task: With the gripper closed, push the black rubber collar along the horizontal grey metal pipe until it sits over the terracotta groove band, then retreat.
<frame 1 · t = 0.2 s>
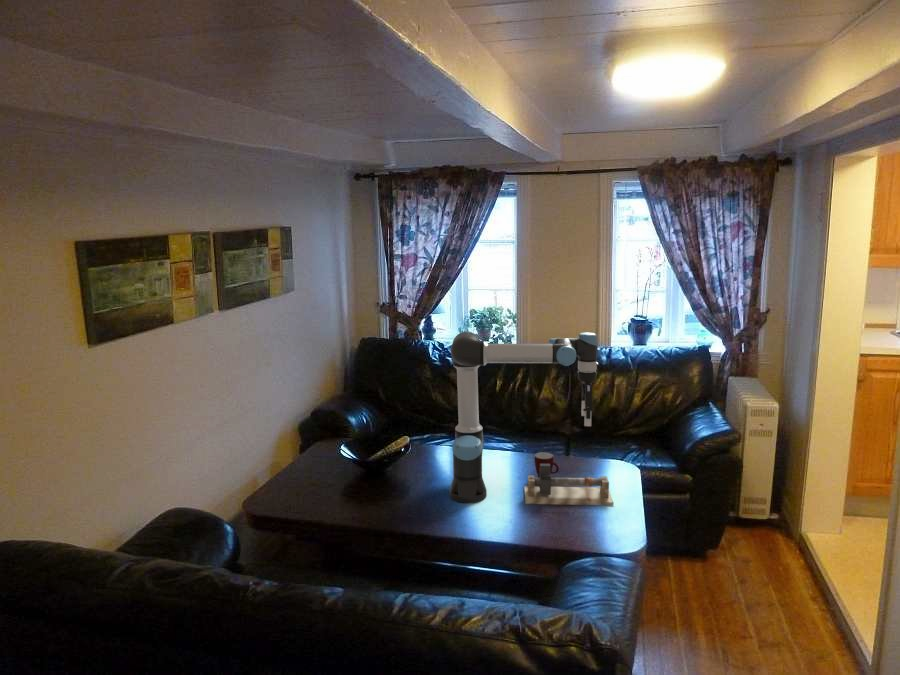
hand: (586, 420, 262), 28 cm above the table, fingers open, 13 cm apart
collar: (545, 477, 254), point 8 cm above the table, slide at 0.0 cm
pipe rig: (567, 496, 255), on the table
mug: (546, 478, 274), on the table
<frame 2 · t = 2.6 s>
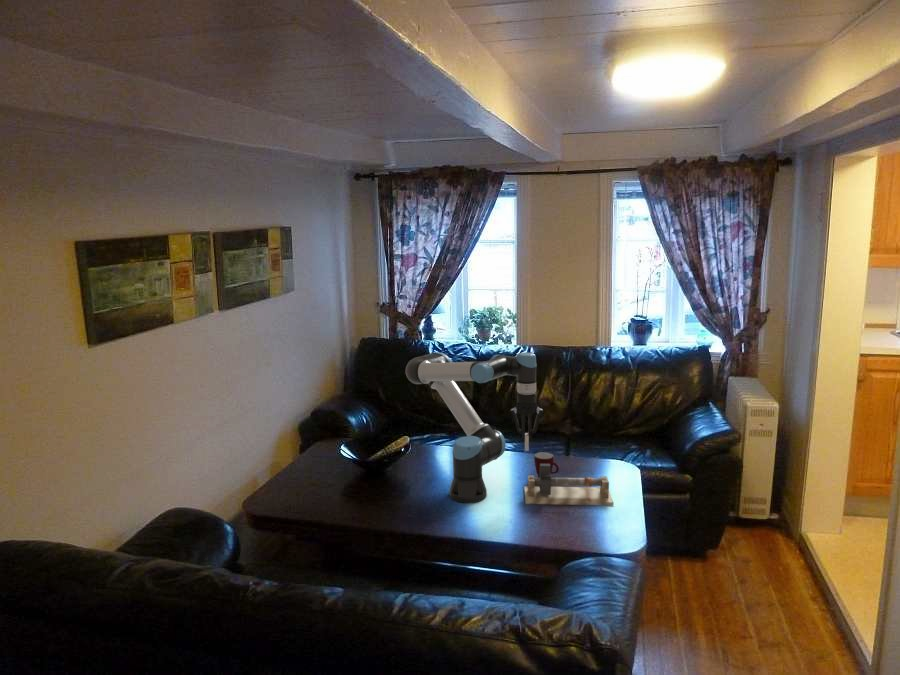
hand: (526, 449, 252), 20 cm above the table, fingers closed
nothing on the table moved.
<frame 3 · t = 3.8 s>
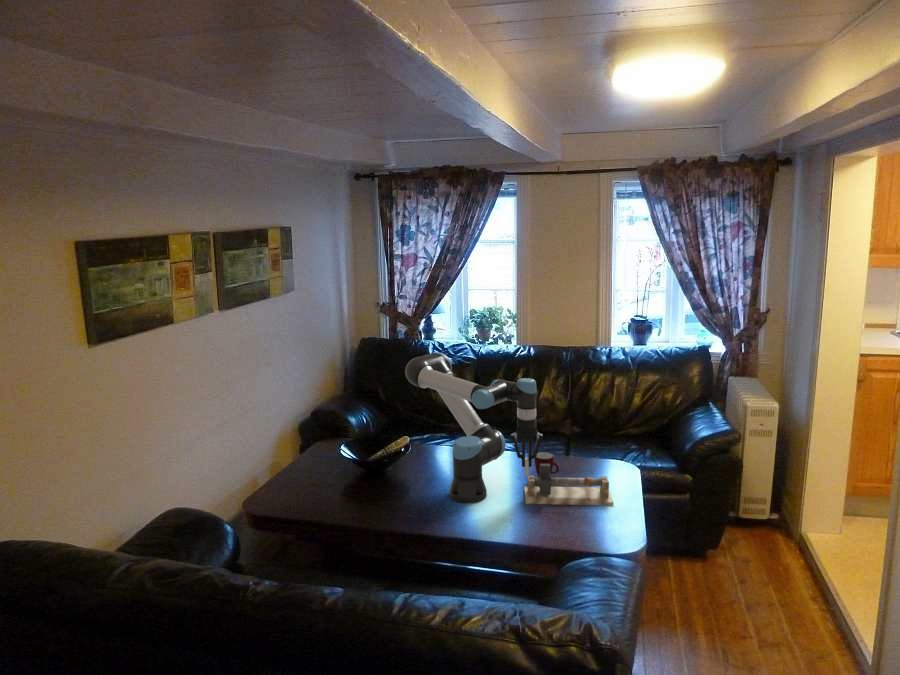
hand: (526, 474, 254), 9 cm above the table, fingers closed
nothing on the table moved.
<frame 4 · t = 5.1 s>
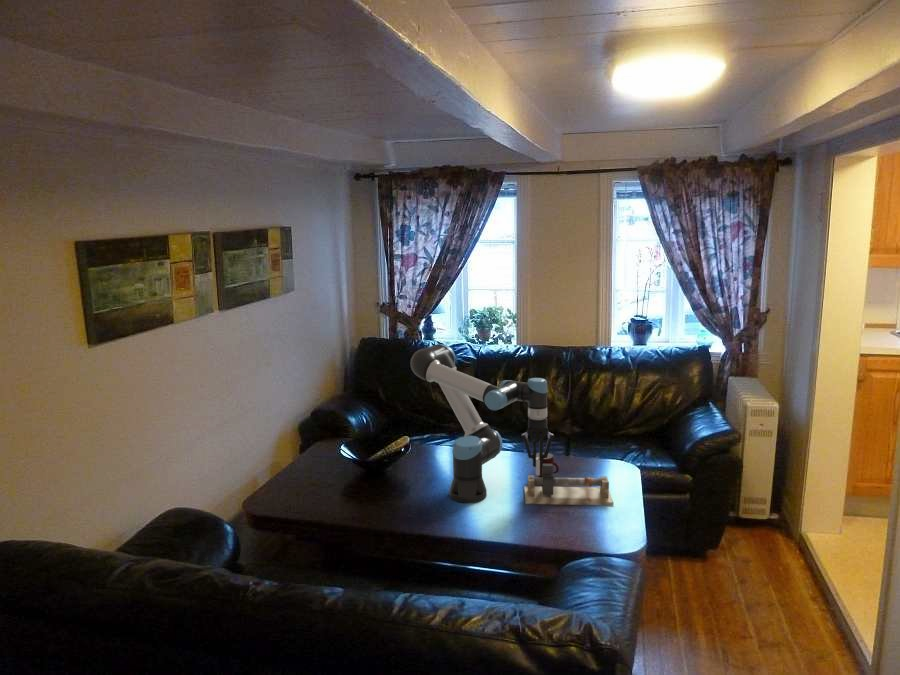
hand: (537, 474, 254), 10 cm above the table, fingers closed
collar: (547, 477, 254), point 8 cm above the table, slide at 1.0 cm, touching gripper
everything else where it was.
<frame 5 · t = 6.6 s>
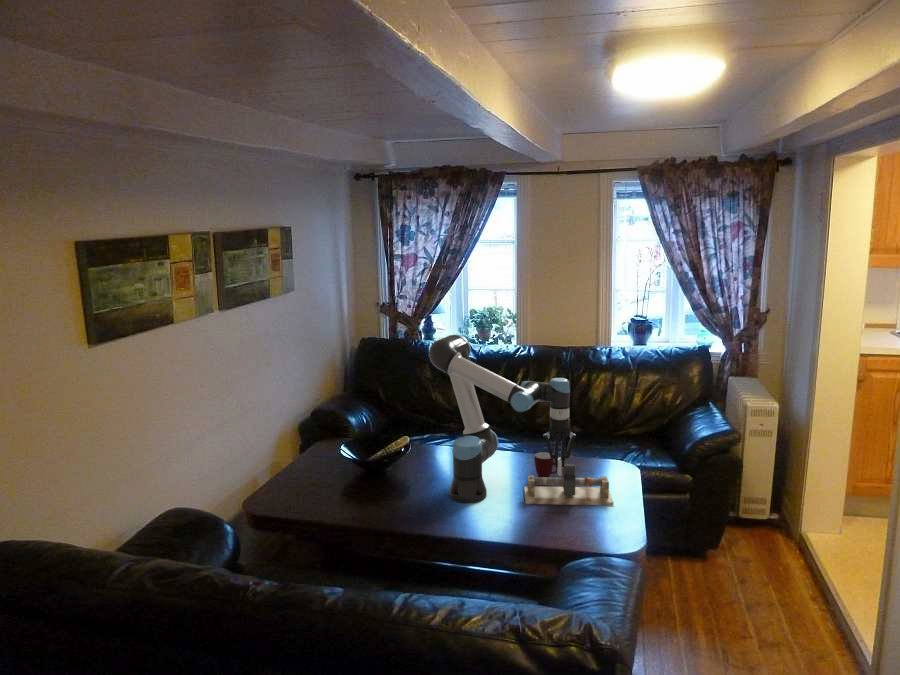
hand: (559, 474, 253), 10 cm above the table, fingers closed
collar: (569, 478, 253), point 8 cm above the table, slide at 9.6 cm, touching gripper
everything else where it was.
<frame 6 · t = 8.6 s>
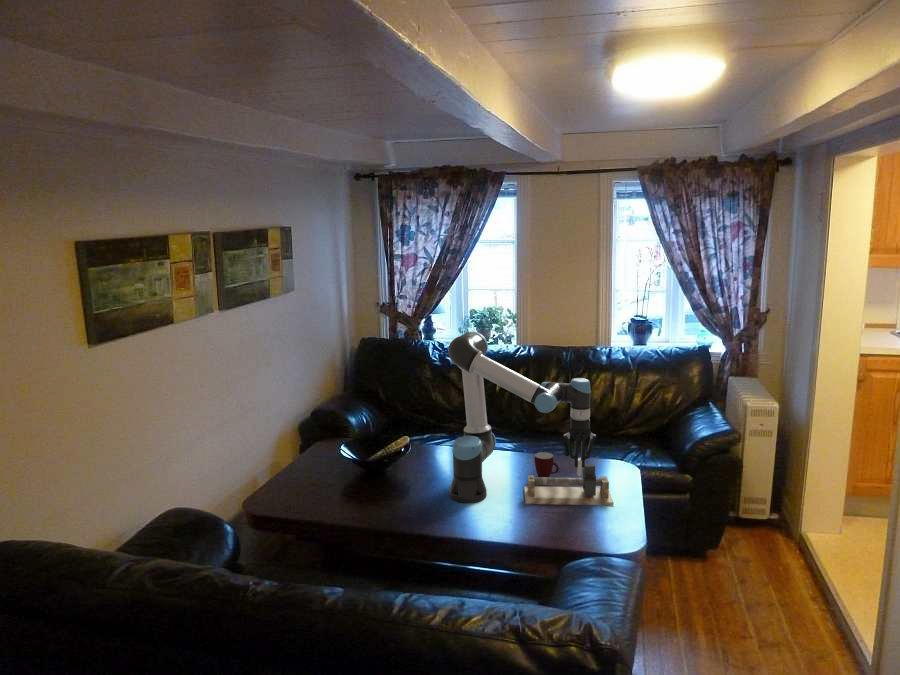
hand: (579, 474, 253), 10 cm above the table, fingers closed
collar: (589, 478, 253), point 8 cm above the table, slide at 17.5 cm, touching gripper
everything else where it was.
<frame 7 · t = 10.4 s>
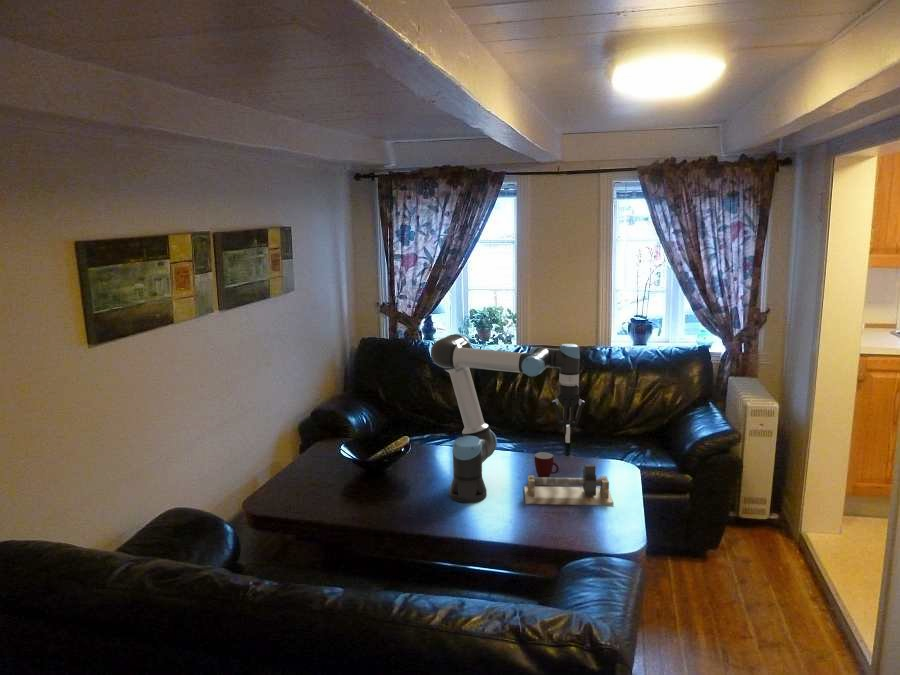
hand: (567, 441, 251), 23 cm above the table, fingers closed
collar: (589, 478, 253), point 8 cm above the table, slide at 17.6 cm
everything else where it was.
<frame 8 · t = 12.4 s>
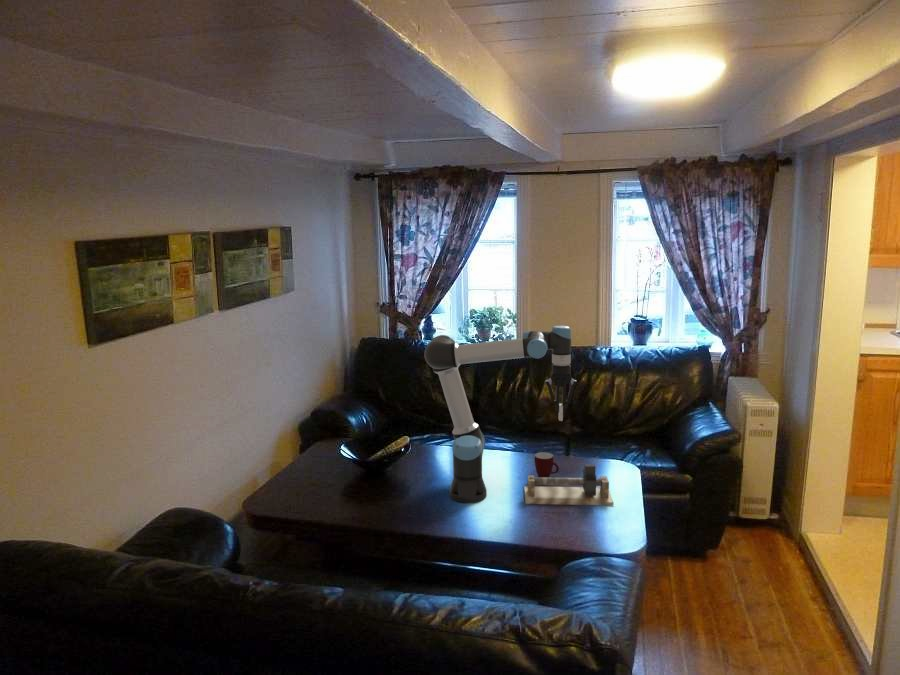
hand: (560, 419, 262), 28 cm above the table, fingers closed
nothing on the table moved.
at the end: collar slide at 17.6 cm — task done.
